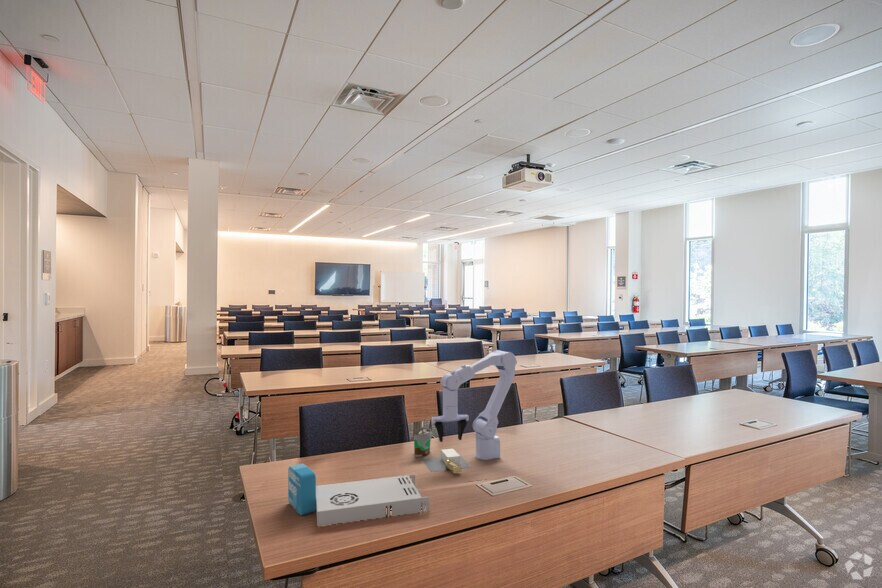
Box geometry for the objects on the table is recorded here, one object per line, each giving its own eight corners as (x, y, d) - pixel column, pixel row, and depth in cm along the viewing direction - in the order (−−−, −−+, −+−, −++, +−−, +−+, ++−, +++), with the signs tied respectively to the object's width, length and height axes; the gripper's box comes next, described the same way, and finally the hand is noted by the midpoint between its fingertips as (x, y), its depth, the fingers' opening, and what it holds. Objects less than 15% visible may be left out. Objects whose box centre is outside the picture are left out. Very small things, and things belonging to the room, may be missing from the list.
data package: (288, 503, 146) (287, 465, 147) (302, 499, 149) (301, 461, 149) (301, 517, 137) (301, 476, 137) (316, 513, 140) (316, 473, 140)
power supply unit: (429, 513, 140) (429, 496, 140) (317, 529, 131) (317, 511, 131) (415, 488, 158) (414, 474, 159) (315, 501, 149) (315, 485, 149)
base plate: (459, 457, 187) (459, 454, 187) (471, 469, 174) (471, 467, 174) (421, 461, 183) (421, 458, 183) (430, 474, 169) (430, 471, 169)
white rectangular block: (453, 457, 184) (453, 448, 185) (460, 465, 176) (460, 456, 176) (441, 458, 183) (441, 449, 183) (447, 466, 174) (447, 457, 174)
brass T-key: (443, 468, 172) (443, 460, 172) (450, 466, 174) (449, 458, 174) (454, 475, 166) (454, 466, 166) (461, 473, 167) (461, 465, 167)
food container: (428, 461, 183) (428, 435, 183) (413, 460, 185) (413, 435, 185) (435, 451, 195) (435, 427, 196) (421, 450, 197) (421, 426, 197)
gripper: (464, 401, 185) (464, 435, 185) (429, 404, 181) (429, 438, 181) (470, 405, 179) (470, 440, 179) (434, 408, 175) (434, 444, 175)
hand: (450, 440), depth 180 cm, fingers open, 7 cm apart
